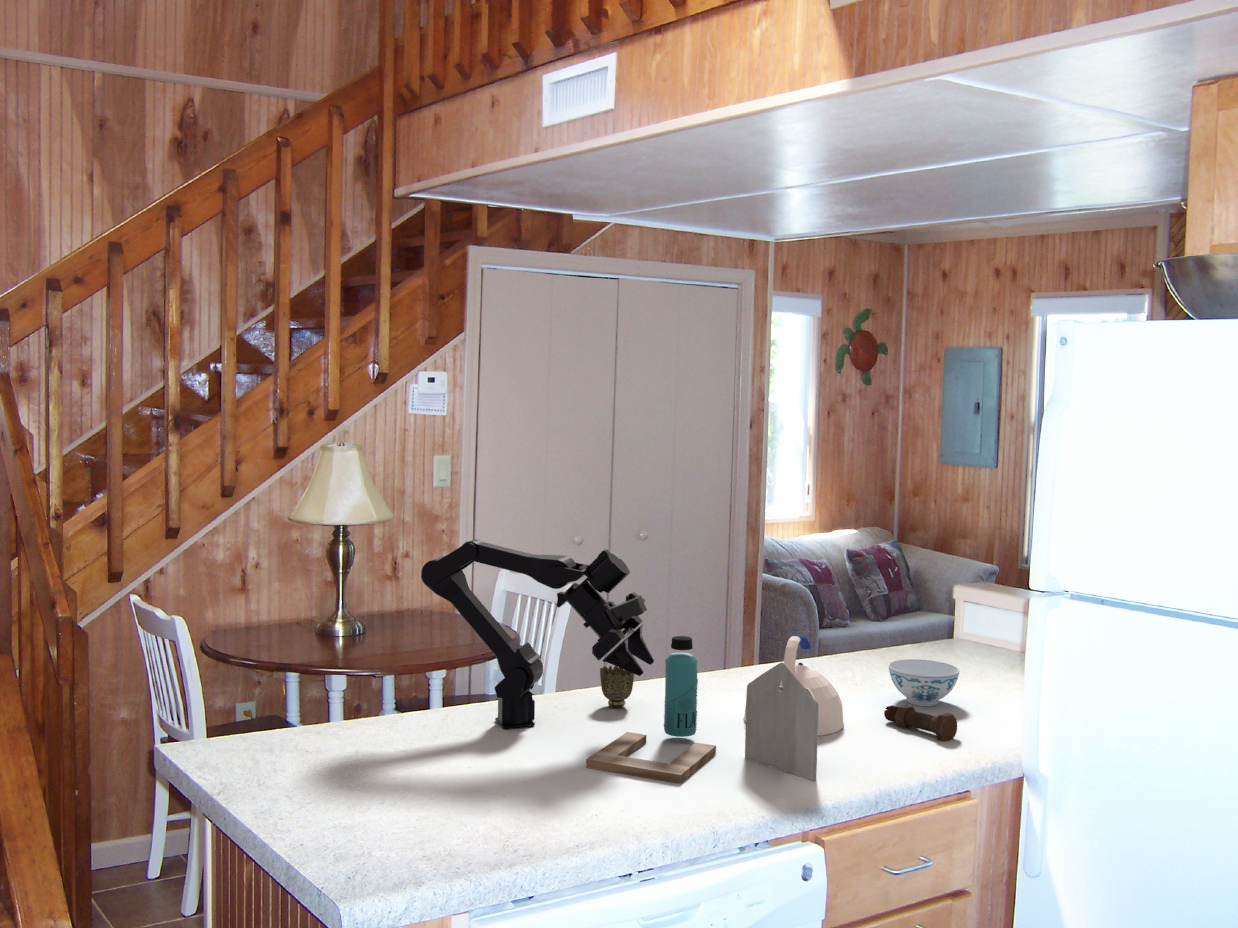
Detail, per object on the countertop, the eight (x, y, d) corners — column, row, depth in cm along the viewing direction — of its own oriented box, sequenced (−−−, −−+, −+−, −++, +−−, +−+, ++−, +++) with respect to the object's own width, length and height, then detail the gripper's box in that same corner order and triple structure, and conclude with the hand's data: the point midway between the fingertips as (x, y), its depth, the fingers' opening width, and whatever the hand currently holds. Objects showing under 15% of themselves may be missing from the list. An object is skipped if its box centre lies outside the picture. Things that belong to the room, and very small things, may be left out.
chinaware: (966, 699, 251) (967, 665, 250) (946, 715, 238) (947, 679, 238) (900, 689, 259) (901, 655, 258) (877, 703, 246) (878, 668, 246)
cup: (633, 711, 237) (634, 673, 236) (598, 710, 237) (599, 673, 236) (634, 701, 244) (634, 665, 244) (599, 700, 244) (600, 664, 244)
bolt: (890, 729, 234) (951, 746, 222) (876, 721, 231) (937, 737, 219) (899, 703, 236) (961, 718, 224) (885, 694, 233) (947, 709, 221)
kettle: (731, 729, 226) (733, 640, 225) (758, 703, 245) (760, 621, 244) (832, 743, 218) (835, 650, 217) (852, 715, 237) (855, 630, 236)
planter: (842, 772, 202) (845, 664, 200) (814, 781, 196) (817, 671, 195) (772, 749, 214) (774, 647, 213) (743, 757, 209) (746, 654, 207)
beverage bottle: (673, 746, 214) (676, 641, 213) (656, 736, 220) (658, 634, 219) (703, 742, 217) (705, 639, 216) (685, 732, 223) (687, 632, 222)
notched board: (680, 783, 194) (680, 774, 194) (586, 767, 202) (586, 758, 202) (715, 753, 211) (715, 745, 211) (627, 739, 218) (627, 731, 218)
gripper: (609, 589, 211) (666, 652, 209) (633, 573, 229) (686, 631, 227) (568, 628, 213) (624, 691, 211) (594, 610, 231) (646, 667, 229)
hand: (647, 668), depth 219 cm, fingers open, 9 cm apart
